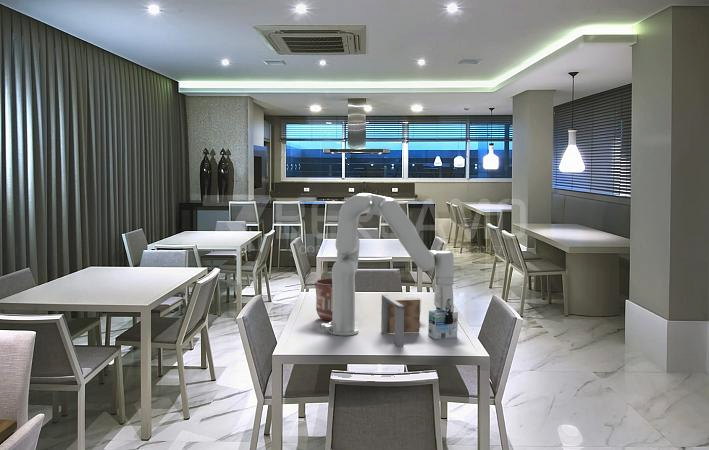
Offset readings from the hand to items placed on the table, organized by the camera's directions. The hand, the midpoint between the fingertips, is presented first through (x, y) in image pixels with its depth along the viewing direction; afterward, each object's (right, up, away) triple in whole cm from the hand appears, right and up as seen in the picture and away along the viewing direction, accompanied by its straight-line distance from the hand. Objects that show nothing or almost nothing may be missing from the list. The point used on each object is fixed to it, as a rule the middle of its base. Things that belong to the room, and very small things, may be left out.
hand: (444, 321), depth 254 cm
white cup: (-11, -4, +28) cm, 30 cm away
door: (-17, -5, +5) cm, 18 cm away
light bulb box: (-1, -7, +1) cm, 7 cm away
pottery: (-47, -4, +28) cm, 55 cm away
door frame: (-22, -6, -3) cm, 23 cm away
